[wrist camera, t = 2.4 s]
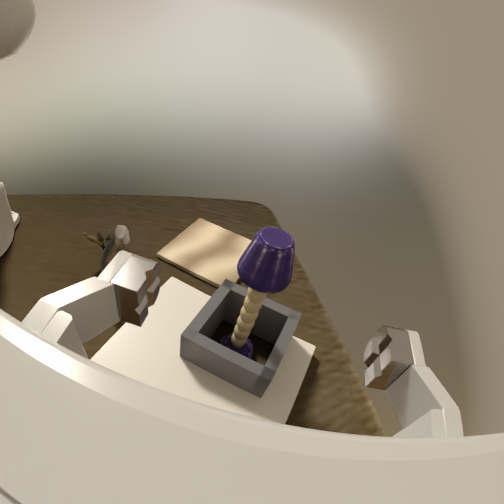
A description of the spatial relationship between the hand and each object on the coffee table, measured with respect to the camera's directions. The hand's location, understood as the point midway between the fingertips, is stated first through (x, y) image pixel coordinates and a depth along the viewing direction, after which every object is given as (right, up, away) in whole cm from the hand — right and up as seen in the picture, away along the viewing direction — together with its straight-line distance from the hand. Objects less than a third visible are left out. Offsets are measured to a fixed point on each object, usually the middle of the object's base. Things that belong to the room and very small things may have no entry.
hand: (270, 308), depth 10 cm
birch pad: (-7, +2, +36) cm, 37 cm away
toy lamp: (-2, -10, +23) cm, 25 cm away
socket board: (-6, -11, +20) cm, 24 cm away
